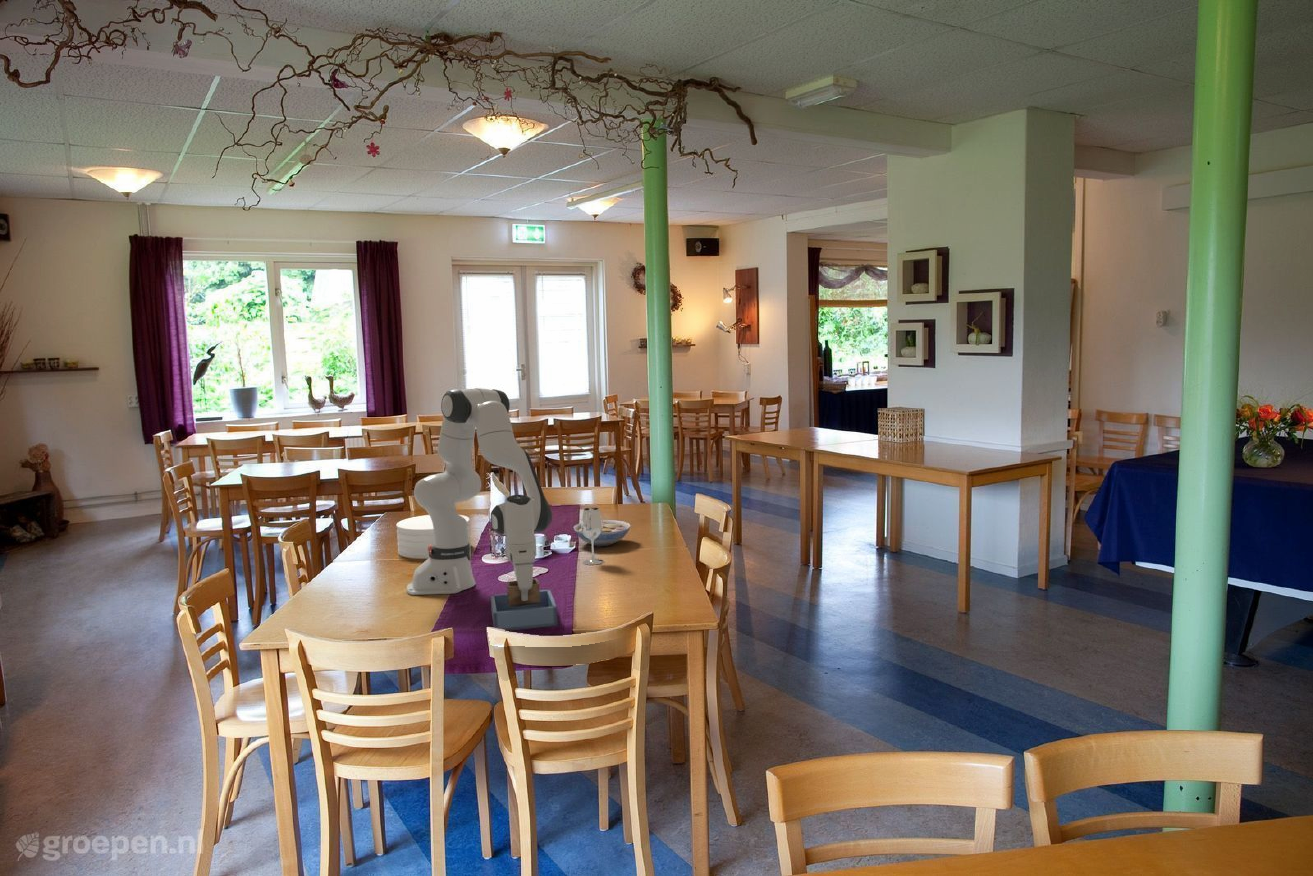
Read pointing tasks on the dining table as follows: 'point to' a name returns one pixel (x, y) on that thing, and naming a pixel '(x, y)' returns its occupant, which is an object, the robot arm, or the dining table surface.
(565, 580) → the dining table surface
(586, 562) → the wineglass
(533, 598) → the walnut crate
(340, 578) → the dining table surface
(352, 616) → the dining table surface
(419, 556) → the plate stack
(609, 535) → the ramen bowl
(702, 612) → the dining table surface
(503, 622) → the blue crate
